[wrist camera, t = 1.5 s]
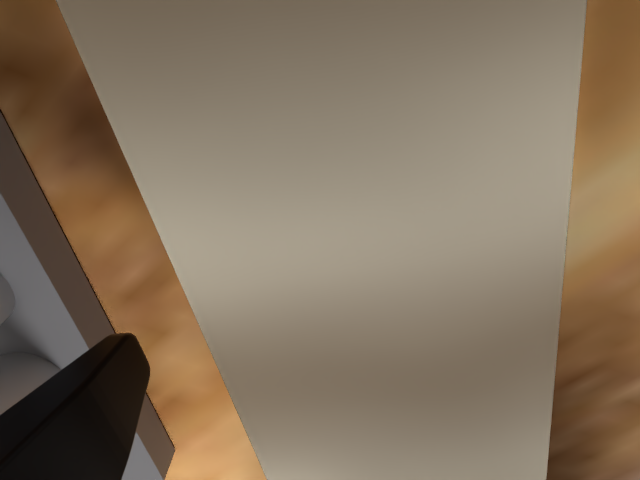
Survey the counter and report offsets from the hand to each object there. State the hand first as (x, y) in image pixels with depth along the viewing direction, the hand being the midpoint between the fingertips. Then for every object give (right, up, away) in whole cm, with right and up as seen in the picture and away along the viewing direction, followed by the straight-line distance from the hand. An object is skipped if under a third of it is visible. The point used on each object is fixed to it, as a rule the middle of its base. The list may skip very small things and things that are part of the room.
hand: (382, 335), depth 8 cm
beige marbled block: (0, +2, +3) cm, 3 cm away
